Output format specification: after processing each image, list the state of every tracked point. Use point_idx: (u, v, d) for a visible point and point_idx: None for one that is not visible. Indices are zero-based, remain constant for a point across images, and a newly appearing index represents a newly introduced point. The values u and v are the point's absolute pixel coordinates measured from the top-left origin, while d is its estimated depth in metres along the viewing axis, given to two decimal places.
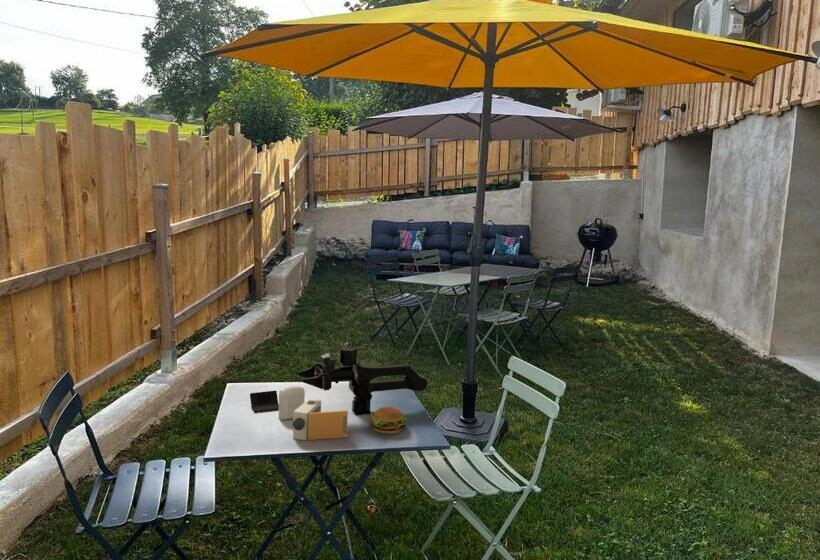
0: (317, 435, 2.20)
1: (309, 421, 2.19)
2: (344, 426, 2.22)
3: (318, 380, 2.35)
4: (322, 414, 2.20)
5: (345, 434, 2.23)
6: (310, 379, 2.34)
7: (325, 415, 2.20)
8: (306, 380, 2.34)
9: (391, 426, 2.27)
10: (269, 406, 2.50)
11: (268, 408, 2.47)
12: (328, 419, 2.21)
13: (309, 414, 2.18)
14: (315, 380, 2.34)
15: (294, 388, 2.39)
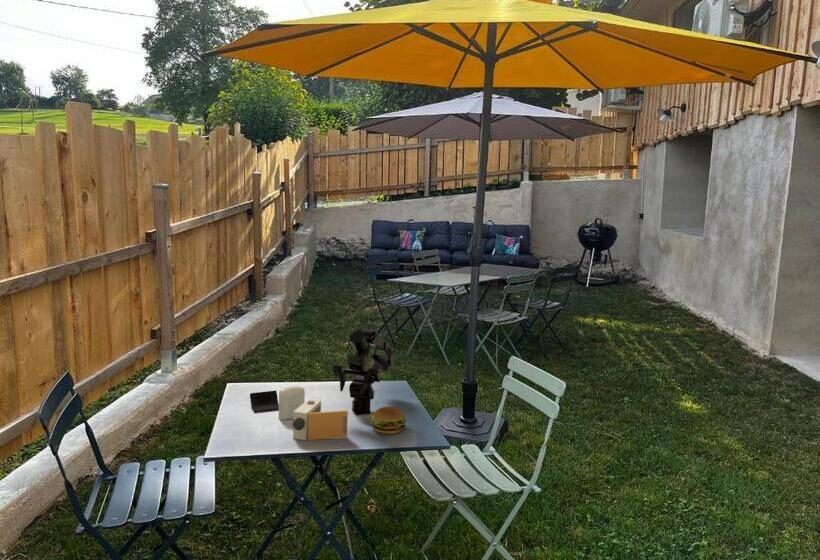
0: (317, 435, 2.20)
1: (309, 421, 2.19)
2: (344, 426, 2.22)
3: (366, 380, 2.37)
4: (322, 414, 2.20)
5: (345, 434, 2.23)
6: (363, 386, 2.35)
7: (325, 415, 2.20)
8: (362, 390, 2.34)
9: (391, 426, 2.27)
10: (269, 406, 2.50)
11: (268, 408, 2.47)
12: (328, 419, 2.21)
13: (309, 414, 2.18)
14: (366, 383, 2.36)
15: (294, 388, 2.39)
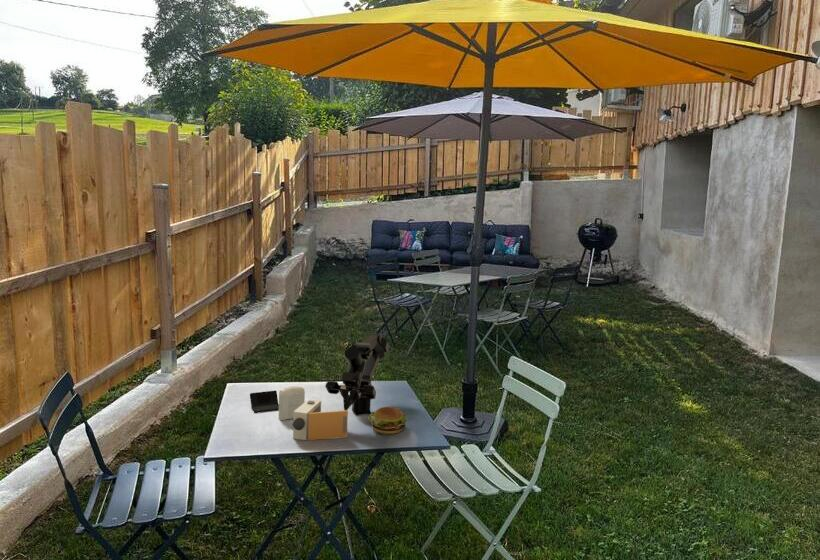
0: (317, 435, 2.20)
1: (309, 421, 2.19)
2: (344, 426, 2.22)
3: (352, 396, 2.32)
4: (322, 414, 2.20)
5: (345, 434, 2.23)
6: (349, 403, 2.29)
7: (325, 415, 2.20)
8: (348, 406, 2.29)
9: (391, 426, 2.27)
10: (269, 406, 2.50)
11: (268, 408, 2.47)
12: (328, 419, 2.21)
13: (309, 414, 2.18)
14: (351, 399, 2.31)
15: (294, 388, 2.39)
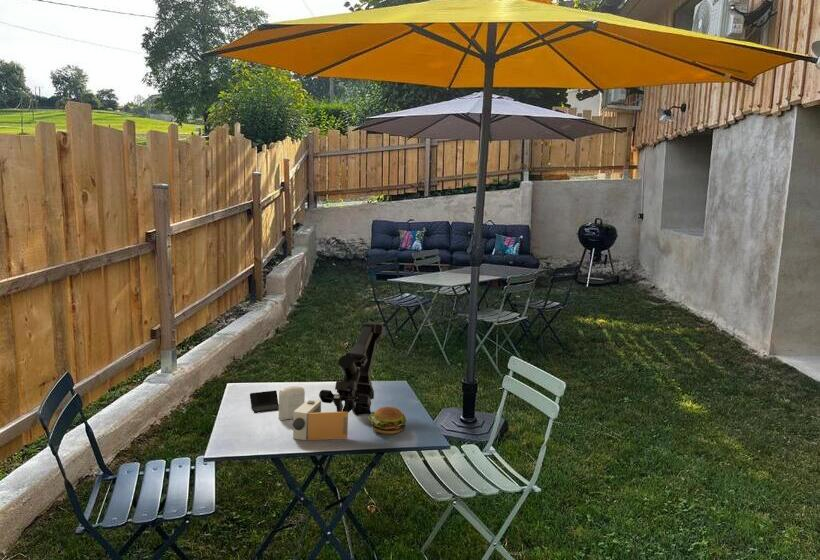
0: (317, 435, 2.20)
1: (309, 421, 2.19)
2: (344, 427, 2.22)
3: (347, 405, 2.25)
4: (322, 414, 2.19)
5: (345, 435, 2.23)
6: None
7: (325, 415, 2.20)
8: None
9: (391, 426, 2.27)
10: (269, 406, 2.50)
11: (268, 408, 2.47)
12: (328, 420, 2.20)
13: (309, 414, 2.18)
14: (346, 408, 2.25)
15: (294, 388, 2.39)
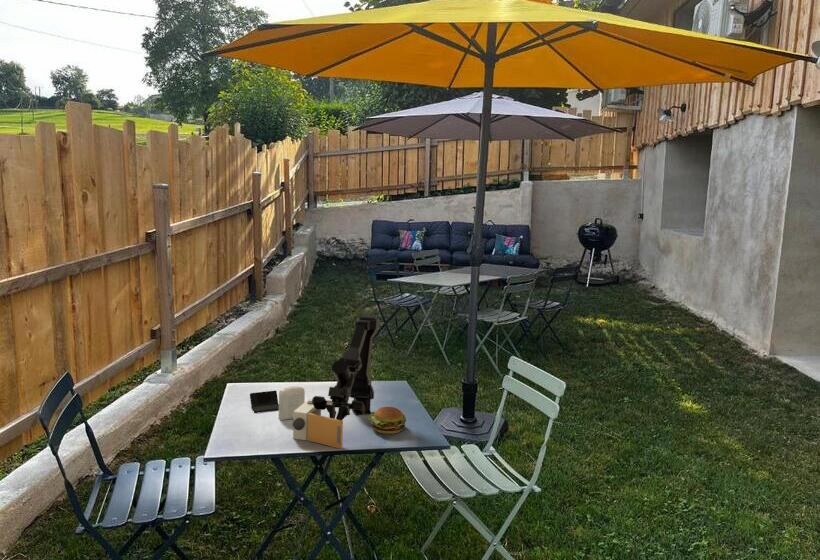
0: (314, 437, 2.18)
1: (308, 421, 2.19)
2: (337, 436, 2.13)
3: (341, 412, 2.19)
4: (319, 418, 2.16)
5: (339, 445, 2.14)
6: None
7: (322, 419, 2.16)
8: None
9: (391, 426, 2.27)
10: (269, 406, 2.50)
11: (268, 408, 2.47)
12: (324, 424, 2.16)
13: (308, 414, 2.18)
14: (340, 415, 2.18)
15: (294, 388, 2.39)
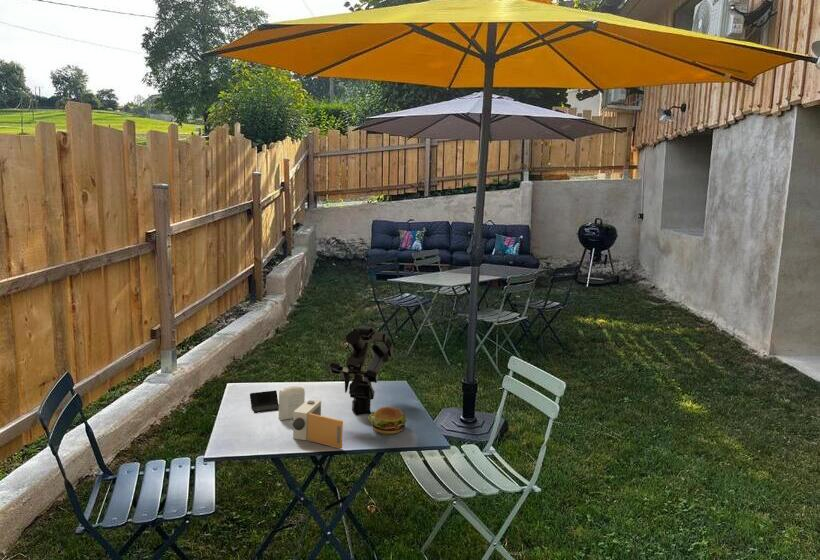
0: (314, 437, 2.18)
1: (308, 421, 2.19)
2: (337, 436, 2.13)
3: None
4: (319, 418, 2.16)
5: (339, 445, 2.14)
6: (353, 386, 2.34)
7: (322, 419, 2.16)
8: (351, 390, 2.34)
9: (391, 426, 2.27)
10: (269, 406, 2.50)
11: (268, 408, 2.47)
12: (324, 424, 2.16)
13: (308, 414, 2.18)
14: (355, 382, 2.36)
15: (294, 388, 2.39)
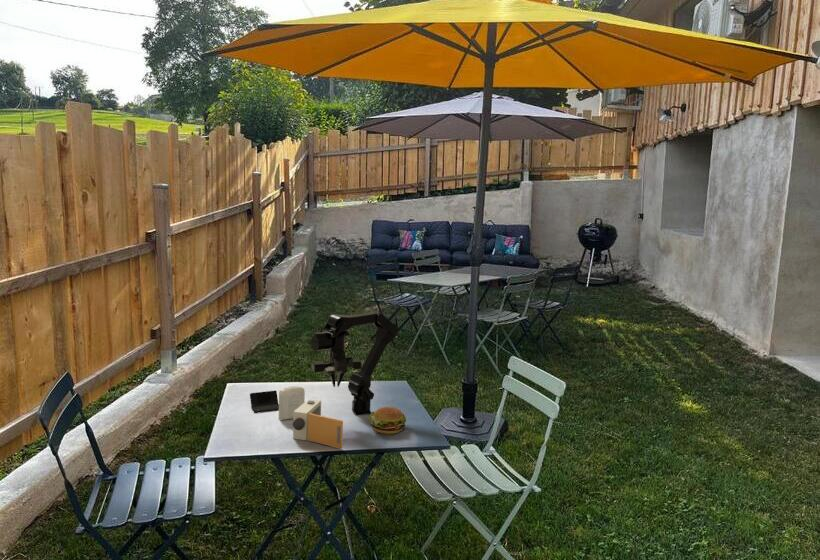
0: (314, 437, 2.18)
1: (308, 421, 2.19)
2: (337, 436, 2.13)
3: None
4: (319, 418, 2.16)
5: (339, 445, 2.14)
6: None
7: (322, 419, 2.16)
8: None
9: (391, 426, 2.27)
10: (269, 406, 2.50)
11: (268, 408, 2.47)
12: (324, 424, 2.16)
13: (308, 414, 2.18)
14: None
15: (294, 388, 2.39)
